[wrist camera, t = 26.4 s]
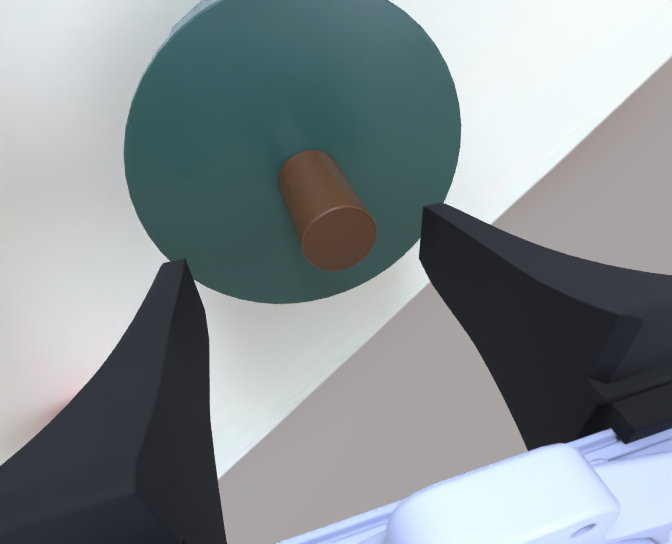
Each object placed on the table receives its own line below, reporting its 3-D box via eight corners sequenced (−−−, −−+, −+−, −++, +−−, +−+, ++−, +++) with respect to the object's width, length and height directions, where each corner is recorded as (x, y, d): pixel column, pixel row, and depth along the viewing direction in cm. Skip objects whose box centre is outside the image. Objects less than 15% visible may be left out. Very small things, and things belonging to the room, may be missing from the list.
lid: (50, 9, 12) (-12, 53, 8) (462, -54, 14) (576, -43, 10) (193, 317, 20) (197, 414, 16) (438, 251, 22) (496, 323, 18)
